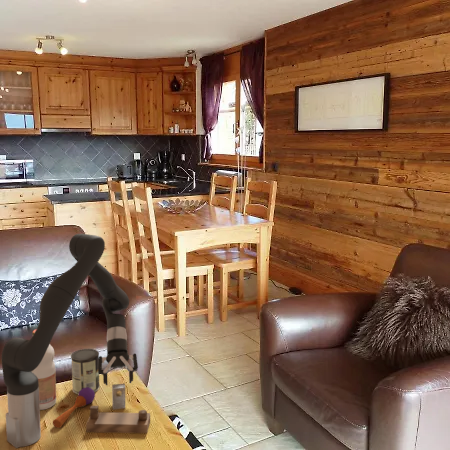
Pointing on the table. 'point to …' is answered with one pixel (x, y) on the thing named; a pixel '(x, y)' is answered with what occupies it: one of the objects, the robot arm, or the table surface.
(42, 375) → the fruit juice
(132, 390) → the table surface
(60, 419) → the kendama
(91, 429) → the plane body
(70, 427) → the table surface
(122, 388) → the lever cap
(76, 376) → the coffee can
